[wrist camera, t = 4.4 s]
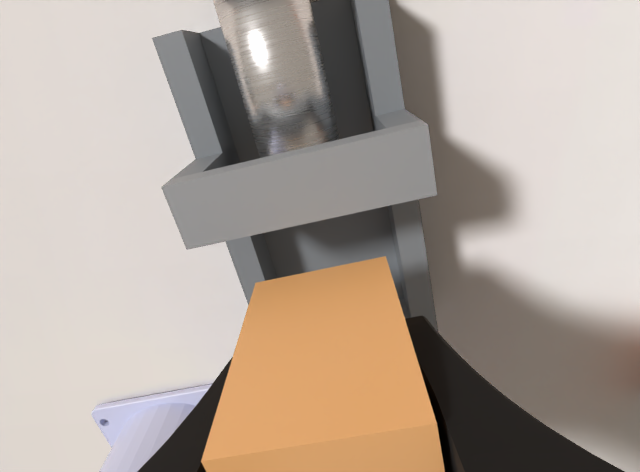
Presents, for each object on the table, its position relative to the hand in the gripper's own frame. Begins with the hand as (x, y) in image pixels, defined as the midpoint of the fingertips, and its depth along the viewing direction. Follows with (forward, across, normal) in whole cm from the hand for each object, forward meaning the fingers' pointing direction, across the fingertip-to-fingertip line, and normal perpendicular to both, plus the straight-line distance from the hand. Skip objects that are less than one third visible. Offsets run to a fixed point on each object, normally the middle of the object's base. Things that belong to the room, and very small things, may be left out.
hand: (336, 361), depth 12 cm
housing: (+8, 0, -2) cm, 8 cm away
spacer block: (+2, 0, 0) cm, 2 cm away
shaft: (+7, 0, -8) cm, 10 cm away
